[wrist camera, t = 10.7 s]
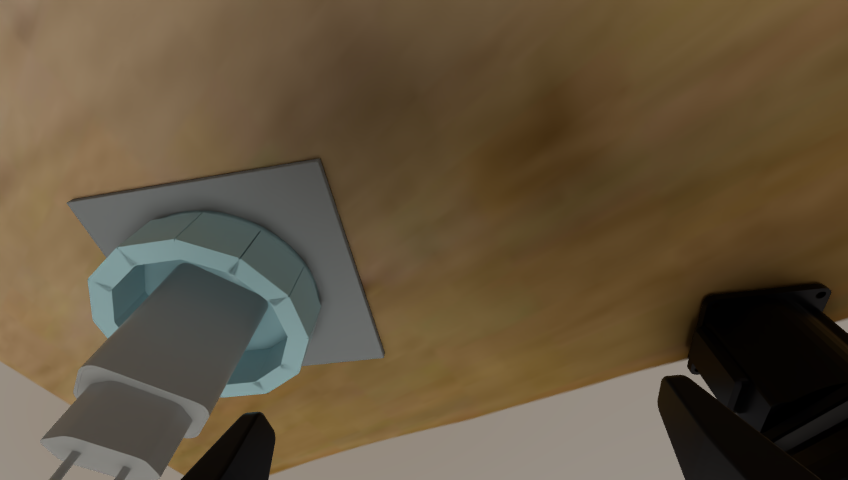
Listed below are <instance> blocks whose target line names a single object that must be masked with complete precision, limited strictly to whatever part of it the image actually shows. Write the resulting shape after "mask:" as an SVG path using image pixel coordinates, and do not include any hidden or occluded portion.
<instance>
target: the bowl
mask: <svg viewBox="0 0 848 480" xmlns="http://www.w3.org/2000/svg"><path fill="white" fill-rule="evenodd" d="M182 263H189V264H193V265H195V266H198V267H200V268H202V269H204V270H206V271H209V272H211V273H213V274H215V275H217V276H219V277H222V278H224V279H226V280H228V281H230V282H233V283H235V284H237V285H239V286H241V287H244V288H246V289H248V290H250V291H252V292H255V293H257V294H259V295H260V296H262V297H263V298H264V299H266V300H267V302H268V309H267V311H266V313H265V314H264V316H263V318H262V320H261V322H260V324H259V325H258V327H257V329H256V331H255V333H254V335H253V336H252V338H251V340H250V342H249V344H248V346H247V348H246V349H245V351H244V353H243V355H242V357H241V359H240V360H239V362H238V364H237V366H236V368H235V370H234V372H233V373H232V375H231V377H230V379H229V381H228V383H227V384H226V386H225V388H224V390H223V392H222V394H221V396H220V397H233V396H244V395H255V394H266V393H268V392H270V391H272V390H273V389H275V388H276V387H278V386H280V385H281V384H283V383H284V382H286V381H287V380H289V379H291V378H292V377H294V376H295V375H297V374H298V373H299V372H300V369H301V366H302V364H303V361H304V358H305V356H306V353H307V350H308V347H309V345H310V342H311V339H312V336H313V332H314V329H315V326H316V322H317V319H318V315H319V312H320V308H321V305H320V298H319V292H318V288H317V285H316V282H315V279H314V277H313V275H312V273H311V271H310V269H309V268H308V266H307V265H306V263H305V262H304V261H303V259H302V258H301V257H300V256H299V255H298V254H297V252H296V251H295V250H294V249H292V248H291V247H290V246H289V245H288V244H287V243H286V242H285V241H283V240H282V239H281V238H279V237H278V236H277V235H275V234H274V233H272V232H270V231H269V230H267V229H265V228H264V227H262V226H260V225H258V224H255V223H253V222H251V221H249V220H246V219H243V218H240V217H238V216H234V215H230V214H226V213H221V212H214V211H199V210H195V211H184V212H179V213H175V214H171V215H168V216H166V217H163V218H161V219H155V220H151V221H149V222H148V223H147V224H145V225H144V226H143V227H142V228H140V229H139V230H138V231H137V232H135V233H134V234H133V235H132V236H130V237H129V238H128V239H127V240H125V241H124V242H123V243H122V244H120V245H119V246H118V247H117V248H115V250H114V251H113V252H112V253H111V254H110V255H109V256H108V257H107V258H106V259H105V261H104V262H103V263H102V264H101V265H100V266H99V267H98V268H97V269H96V270H95V272H94V273H93V274H92V275H91V276H90V277H89V278H88V287H89V294H90V302H91V310H92V318H93V320H94V323H95V324H96V325H97V326H98V327H99V329H100V330H101V331H102V332H103V333H104V335H105V336H106V337H107V338H109V337H110V336H111V335H112V334H113V333H114V332H115V331H116V330H117V329H118V328H119V327H120V326H121V325H122V324H123V323H124V322H125V321H126V319H127V318H128V317H129V316H130V315H131V314H132V313H133V312H134V311H135V310H136V309H137V308H138V307H139V306H140V305H141V304H142V303H143V302H144V301H145V300H146V298H147V297H148V296H149V295H150V294H151V293H152V292H153V291H154V290H155V289H156V288H157V287H158V286H159V285H160V284H161V283H162V282H163V281H164V280H165V279H166V278H167V276H168V275H169V274H170V273H171V272H172V271H173V270H174V269H175V268H176V267H177V266H178V265H179V264H182Z"/></svg>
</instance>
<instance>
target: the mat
mask: <svg viewBox="0 0 848 480" xmlns="http://www.w3.org/2000/svg"><path fill="white" fill-rule="evenodd" d="M67 204H68V206H69V207H70V208H71V210H72V211H73V212H74V214H75V215H76V217H77V218H78V219H79V221H80V222H81V223H82V225H83V226H84V228H85V229H86V230H87V232H88V233H89V234H90V236H91V237H92V239H93V240H94V241H95V243H96V244H97V245H98V247H99V248H100V250H101V251H102V252H103V254H104V255H105V256H106V258H107V257H108V256H109V255H110V254H111V253H112V252H113V251H114V250H115V248H117V247H118V246H119V245H120V244H122V243H123V242H124V241H125V240H127V239H128V238H129V237H130V236H132V235H133V234H134V233H135V232H137V231H138V230H139V229H140V228H142V227H143V226H144V225H145V224H147V223H148V222H149V221H151V220H155V219H161V218H163V217H166V216H168V215H171V214H175V213H179V212H184V211H195V210H199V211H214V212H221V213H226V214H230V215H234V216H238V217H240V218H243V219H246V220H249V221H251V222H253V223H255V224H258V225H260V226H262V227H264V228H265V229H267V230H269V231H270V232H272V233H274V234H275V235H277V236H278V237H279V238H281V239H282V240H283V241H285V242H286V243H287V244H288V245H289V246H290V247H291V248H292V249H294V250H295V251H296V252H297V254H298V255H299V256H300V257H301V258H302V259H303V261H304V262H305V263H306V265H307V266H308V268H309V269H310V271H311V273H312V275H313V277H314V279H315V282H316V285H317V288H318V292H319V298H320V305H321V308H320V312H319V315H318V319H317V322H316V326H315V329H314V332H313V336H312V339H311V342H310V345H309V347H308V350H307V353H306V356H305V358H304V361H303V364H302V366H307V365H317V364H327V363H337V362H347V361H357V360H367V359H377V358H384V354H385V353H384V350H383V347H382V344H381V341H380V338H379V335H378V332H377V329H376V326H375V323H374V320H373V317H372V314H371V311H370V308H369V305H368V302H367V299H366V296H365V293H364V290H363V287H362V284H361V281H360V277H359V274H358V271H357V268H356V265H355V262H354V259H353V256H352V253H351V250H350V247H349V244H348V241H347V238H346V235H345V232H344V229H343V226H342V223H341V220H340V217H339V214H338V211H337V208H336V205H335V202H334V199H333V196H332V193H331V190H330V187H329V184H328V181H327V178H326V175H325V172H324V169H323V166H322V163H321V160H320V158H319V159H313V160H307V161H301V162H295V163H289V164H283V165H277V166H271V167H265V168H259V169H253V170H247V171H241V172H235V173H229V174H223V175H217V176H211V177H205V178H199V179H193V180H187V181H181V182H175V183H169V184H163V185H157V186H151V187H145V188H139V189H133V190H127V191H121V192H115V193H109V194H103V195H97V196H91V197H85V198H79V199H73V200H71V201H69V202H67Z"/></svg>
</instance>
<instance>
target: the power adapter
mask: <svg viewBox="0 0 848 480" xmlns="http://www.w3.org/2000/svg"><path fill="white" fill-rule="evenodd" d="M267 309H268V302H267V300H266V299H264V298H263V297H262V296H260V295H259V294H257V293H255V292H252V291H250V290H248V289H246V288H244V287H241V286H239V285H237V284H235V283H233V282H230V281H228V280H226V279H224V278H222V277H219V276H217V275H215V274H213V273H211V272H209V271H206V270H204V269H202V268H200V267H198V266H195V265H193V264H189V263H182V264H179V265H178V266H177V267H176V268H175V269H174V270H173V271H172V272H171V273H170V274H169V275H168V276H167V278H166V279H165V280H164V281H163V282H162V283H161V284H160V285H159V286H158V287H157V288H156V289H155V290H154V291H153V292H152V293H151V294H150V295H149V296H148V297H147V298H146V300H145V301H144V302H143V303H142V304H141V305H140V306H139V307H138V308H137V309H136V310H135V311H134V312H133V313H132V314H131V315H130V316H129V317H128V318H127V319H126V321H125V322H124V323H123V324H122V325H121V326H120V327H119V328H118V329H117V330H116V331H115V332H114V333H113V334H112V335H111V336H110V337H109V338H108V339H107V340H106V341H105V343H104V344H103V345H102V346H101V347H100V348H99V349H98V350H97V351H96V352H95V353H94V354H93V355H92V356H91V357H90V358H89V359H88V360H87V361H86V362H85V363H84V365H83V366H82V367H81V368H80V369H79V370H78V374H77V379H76V383H75V387H74V391H73V392H74V395H75V397H76V398H77V400H76V401H75V402H74V403H73V404H72V405H71V406H70V408H69V409H68V410H67V411H66V412H65V413H64V414H63V415H62V416H61V418H60V419H59V420H58V421H57V422H56V423H55V424H54V425H53V427H52V428H51V429H50V430H49V431H48V432H47V433H46V434H45V436H44V437H43V438H42V439H41V440H40V443H41V444H42V445H43V446H44V447H45V448H46V449H48V450H49V451H50V452H51V453H52V454H53V455H55V456H56V457H57V458H58V459H60V460H62V461H64V462H63V463H62V464H61V465H60V467H59V468H58V469H57V471H56V472H55V473H54V474H53V475H52V477H51V478H50V480H61V479H62V478H63V477H64V475H65V474H66V473H67V471H68V470H69V469H70V468H71V466H72V465H77V466H80V467H84V468H87V469H90V470H93V471H97V472H100V473H103V474H107V475H110V476H113V477H116V478H115V479H114V480H158V479H160V477H161V475H162V474H163V472H164V470H165V468H166V467H167V465H168V463H169V461H170V460H171V458H172V456H173V454H174V453H175V451H176V449H177V447H178V446H179V444H180V442H181V440H182V439H183V438H194V437H196V436H198V435H199V433H200V432H201V430H202V428H203V426H204V425H205V423H206V421H207V419H208V418H209V416H210V414H211V412H212V410H213V408H214V407H215V405H216V403H217V401H218V399H219V397H220V396H221V394H222V392H223V390H224V388H225V386H226V384H227V383H228V381H229V379H230V377H231V375H232V373H233V372H234V370H235V368H236V366H237V364H238V362H239V360H240V359H241V357H242V355H243V353H244V351H245V349H246V348H247V346H248V344H249V342H250V340H251V338H252V336H253V335H254V333H255V331H256V329H257V327H258V325H259V324H260V322H261V320H262V318H263V316H264V314H265V313H266V311H267Z"/></svg>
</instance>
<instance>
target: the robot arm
mask: <svg viewBox="0 0 848 480" xmlns="http://www.w3.org/2000/svg"><path fill="white" fill-rule="evenodd" d="M830 294H831V290H830V289H829V288H827V287H826V286H825V285H823V284H811V285H802V286H792V287H783V288H774V289H765V290H755V291H746V292H737V293H728V294H719V295H712V296H709V297H707V298H706V299H705V300H704V301H703V304H702V308H701V312H700V316H699V320H698V324H697V328H696V330H695V332H694V336H693V340H692V345H691V349H690V353H689V360H688V365H687V367H688V369H689V370H690V372H691V373H692V374H696V375H698V374H700V375H701V376H702V378H703V379H704V381H705V382H706V384H707V385H708V386H709V388H710V389H711V391H712V392H713V394H714V395H715V397H716V398H717V399H716V398H714V397H713V396H712V395H710V394H709V393H708V392H707V391H705V390H704V389H702V388H701V387H700V386H699V385H697V384H696V383H695V382H693V381H692V380H691V379H690V378H688V377H686V376H684V375H674V376H665V377H664V378H663V379H662V381H661V386H660V391H659V396H658V408H659V412H660V415H661V417H662V420H663V422H664V425H665V428H666V430H667V433H668V436H669V438H670V441H671V444H672V446H673V449H674V451H675V454H676V457H677V459H678V462H679V464H680V467H681V470H682V473H683V475H684V478H685V480H848V333H846V332H845V331H844V330H843V329H842V328H841V327H839V326H838V325H837V324H836V323H835V322H833V321H832V320H831V319H830V318H829V317H827V316H826V315H825V314H824V313H823V310H824V307H825V305H826V303H827V301H828V299H829V297H830ZM736 414H737V415H736ZM274 445H275V432H274V430H273V428H272V427H271V425H270V424H269V422H268V420H267V419H266V417H265V416H264V414H263V413H261V412H252V413H245V414H243V415H242V416H241V417H240V418H239V419H238V420H237V421H236V422H235V423H234V424H233V425H232V426H231V427H230V428H229V429H228V430H227V431H226V432H225V433H224V434H223V435H222V437H221V438H220V439H219V440H218V441H217V442H216V443H215V444H214V445H213V446H212V447H211V448H210V449H209V450H208V451H207V452H206V453H205V454H204V456H203V457H202V458H201V459H200V460H199V461H198V462H197V463H196V464H195V465H194V466H193V467H192V468H191V469H190V470H189V471H188V472H187V473H186V475H185V476H184V477H183V478H182V479H181V480H268V478H269V473H270V467H271V462H272V456H273V451H274Z"/></svg>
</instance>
